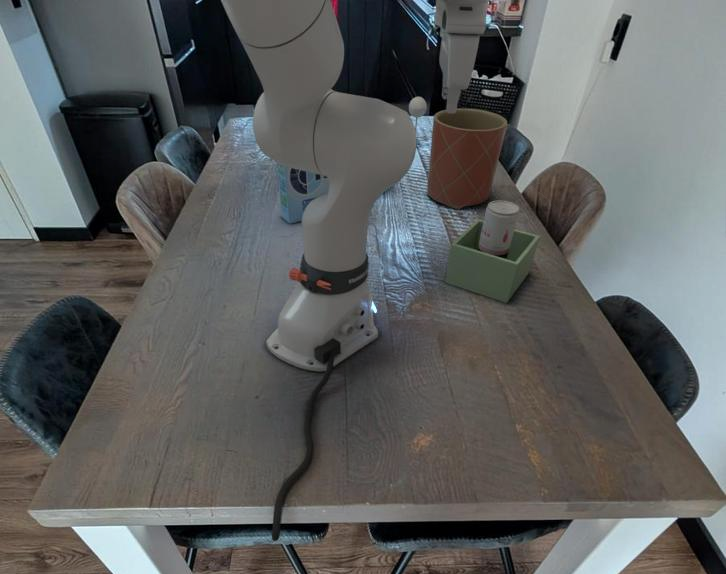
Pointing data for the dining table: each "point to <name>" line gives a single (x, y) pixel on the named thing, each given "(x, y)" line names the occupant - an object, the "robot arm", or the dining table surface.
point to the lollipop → (417, 108)
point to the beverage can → (498, 228)
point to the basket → (490, 264)
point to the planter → (464, 156)
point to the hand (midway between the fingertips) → (448, 105)
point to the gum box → (298, 191)
